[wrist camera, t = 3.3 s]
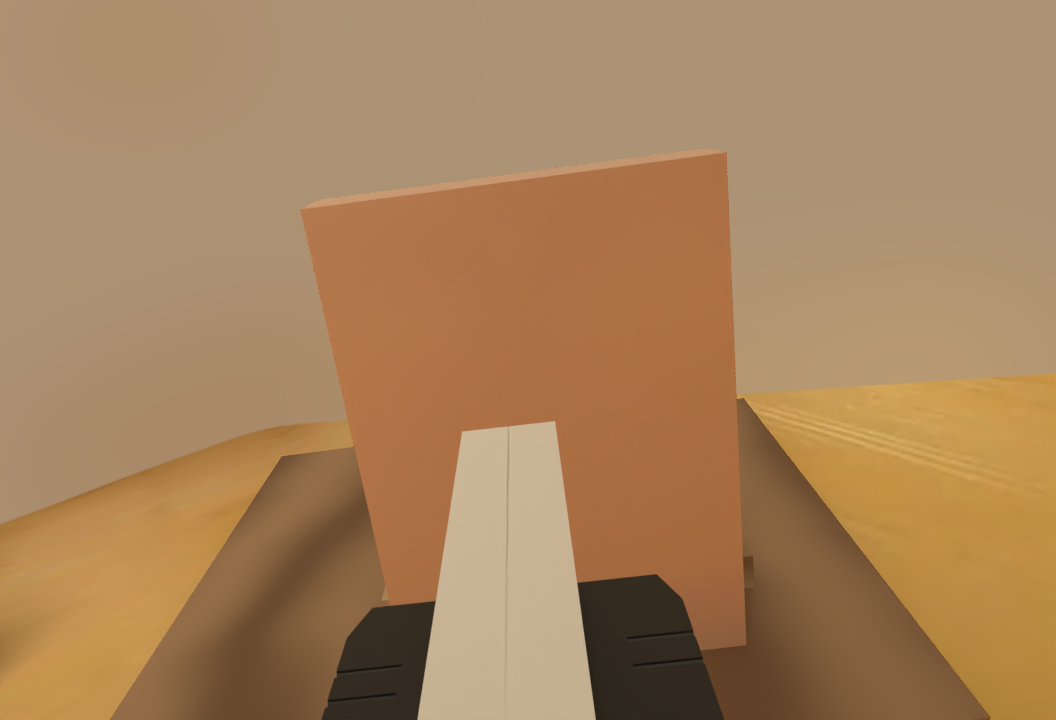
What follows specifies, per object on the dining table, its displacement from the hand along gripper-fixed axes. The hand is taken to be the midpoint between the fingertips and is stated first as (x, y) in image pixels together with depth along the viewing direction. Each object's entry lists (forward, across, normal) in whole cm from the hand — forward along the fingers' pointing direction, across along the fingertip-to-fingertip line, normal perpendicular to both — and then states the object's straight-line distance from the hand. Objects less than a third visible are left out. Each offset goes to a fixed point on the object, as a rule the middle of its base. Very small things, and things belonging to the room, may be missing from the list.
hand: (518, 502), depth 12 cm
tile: (+8, +1, -10) cm, 13 cm away
